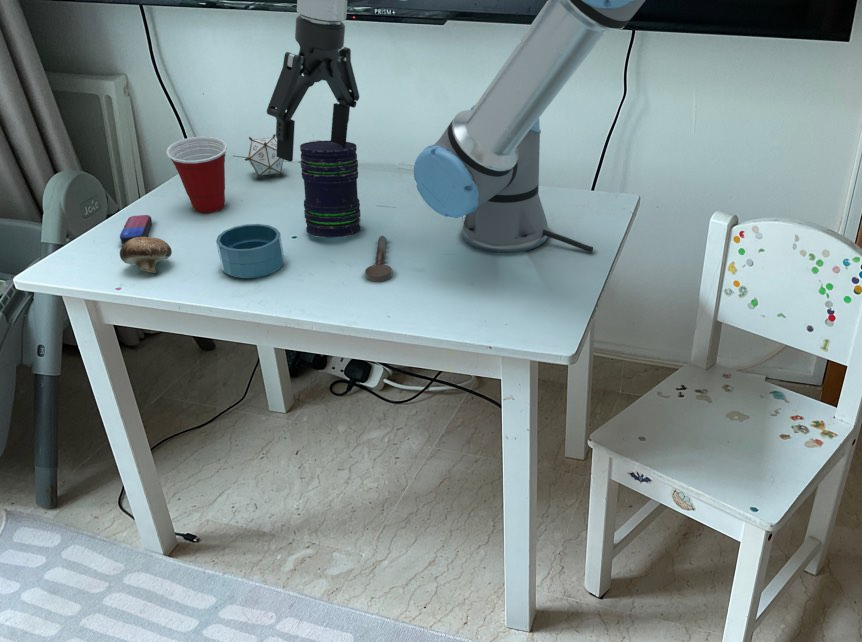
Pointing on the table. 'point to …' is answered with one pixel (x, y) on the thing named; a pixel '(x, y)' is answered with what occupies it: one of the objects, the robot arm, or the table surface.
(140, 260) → the mushroom
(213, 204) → the plastic cup
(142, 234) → the eraser
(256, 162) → the game die
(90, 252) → the table surface
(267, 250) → the bowl
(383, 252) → the spoon
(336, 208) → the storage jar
